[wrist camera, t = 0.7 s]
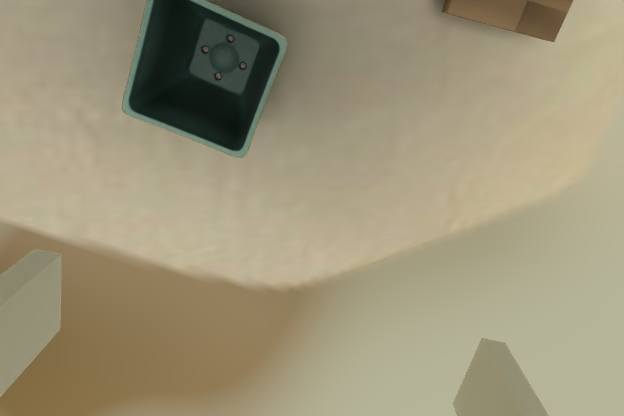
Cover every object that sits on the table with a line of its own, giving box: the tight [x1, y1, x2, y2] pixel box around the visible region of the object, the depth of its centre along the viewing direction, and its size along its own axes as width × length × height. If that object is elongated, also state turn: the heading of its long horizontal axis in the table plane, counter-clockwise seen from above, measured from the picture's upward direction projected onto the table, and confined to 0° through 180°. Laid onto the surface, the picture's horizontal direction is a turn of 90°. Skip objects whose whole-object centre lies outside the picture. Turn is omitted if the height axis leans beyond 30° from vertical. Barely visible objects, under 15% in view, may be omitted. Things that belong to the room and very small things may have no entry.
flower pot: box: [122, 0, 288, 158], centre depth 32 cm, size 9×9×9 cm
